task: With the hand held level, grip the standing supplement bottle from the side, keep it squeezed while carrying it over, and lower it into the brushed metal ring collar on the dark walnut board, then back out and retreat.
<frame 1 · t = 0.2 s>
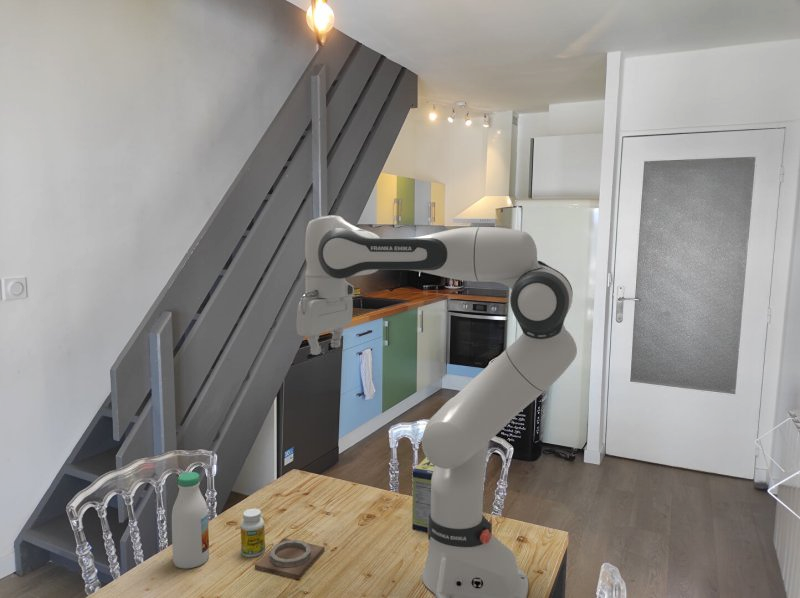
hand: (326, 350, 128), 48 cm above the table, tool pointing down, fingers open, 8 cm apart
milk bottle: (191, 560, 129), on the table
collar board: (290, 559, 130), on the table
protein box: (440, 520, 149), on the table
supplement bottle: (253, 552, 133), on the table
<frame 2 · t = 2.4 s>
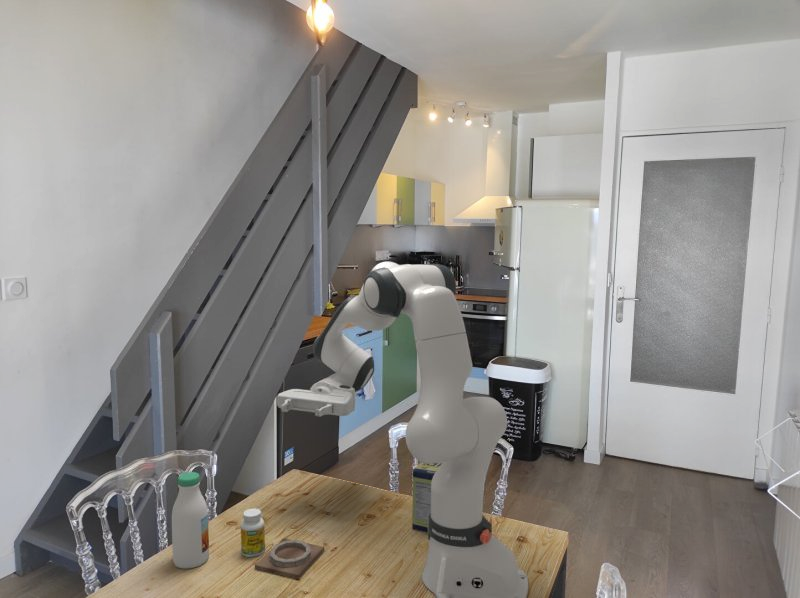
hand: (300, 410, 141), 30 cm above the table, tool horizontal, fingers open, 8 cm apart
nothing on the table moved.
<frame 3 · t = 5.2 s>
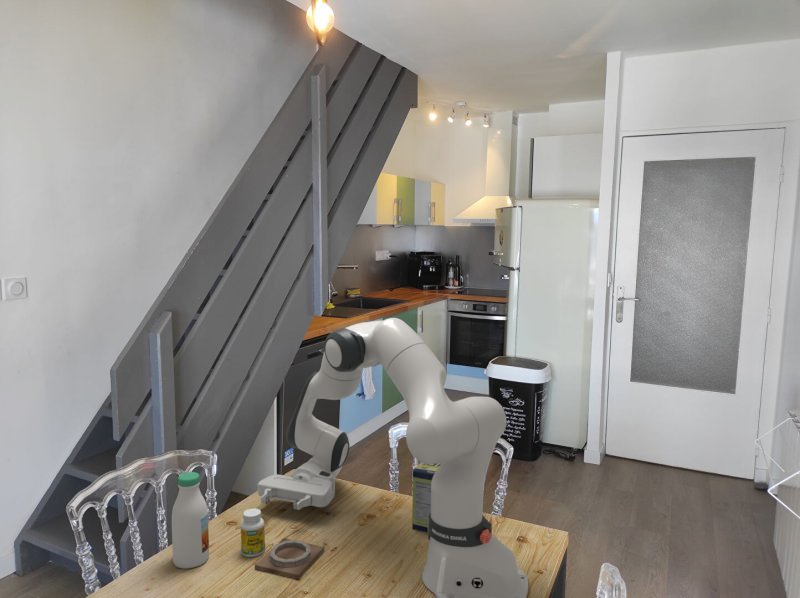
hand: (279, 503, 143), 6 cm above the table, tool horizontal, fingers open, 8 cm apart
nothing on the table moved.
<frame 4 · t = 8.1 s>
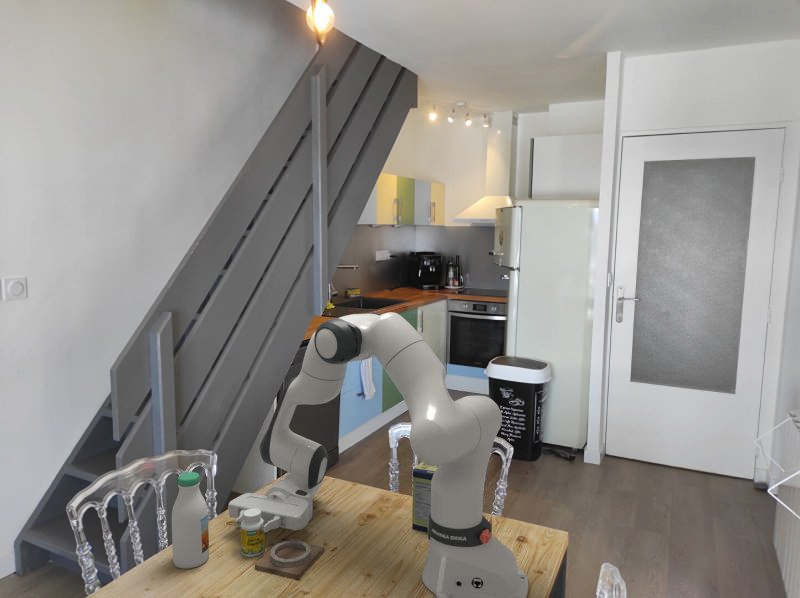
hand: (250, 526, 131), 7 cm above the table, tool horizontal, fingers closed on supplement bottle, 5 cm apart
supplement bottle: (253, 552, 133), on the table, touching gripper
everything else where it was.
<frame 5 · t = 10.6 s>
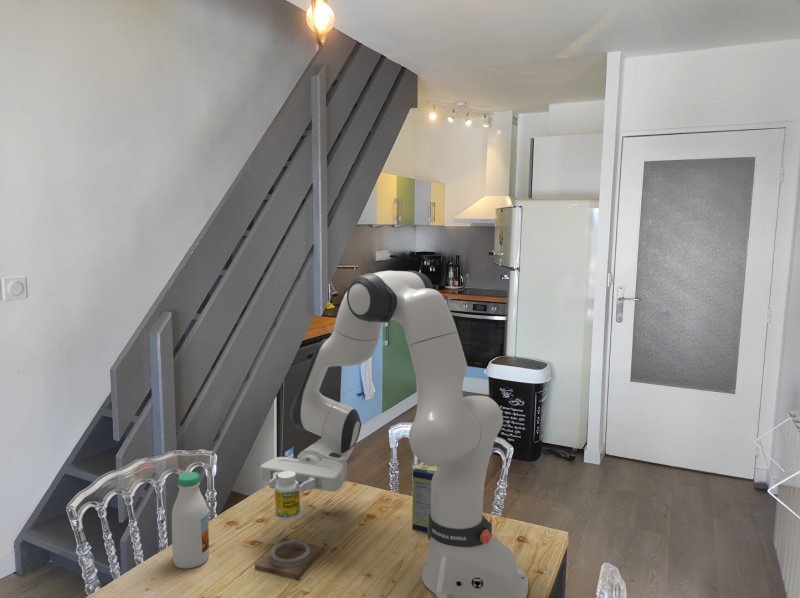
hand: (285, 487, 127), 18 cm above the table, tool horizontal, fingers closed on supplement bottle, 5 cm apart
supplement bottle: (287, 515, 129), point 10 cm above the table, touching gripper
everything else where it was.
when the fingers open (8 cm above the table, at t = 13.6 s): supplement bottle stays where it is, resting on collar board.
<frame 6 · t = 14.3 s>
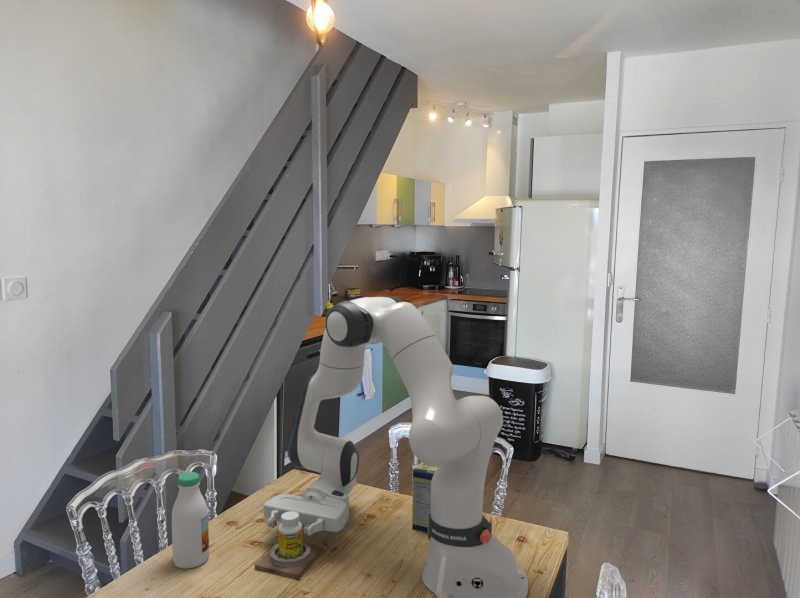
hand: (288, 528, 128), 8 cm above the table, tool horizontal, fingers open, 8 cm apart
supplement bottle: (290, 556, 130), point 1 cm above the table, touching collar board
everything else where it was.
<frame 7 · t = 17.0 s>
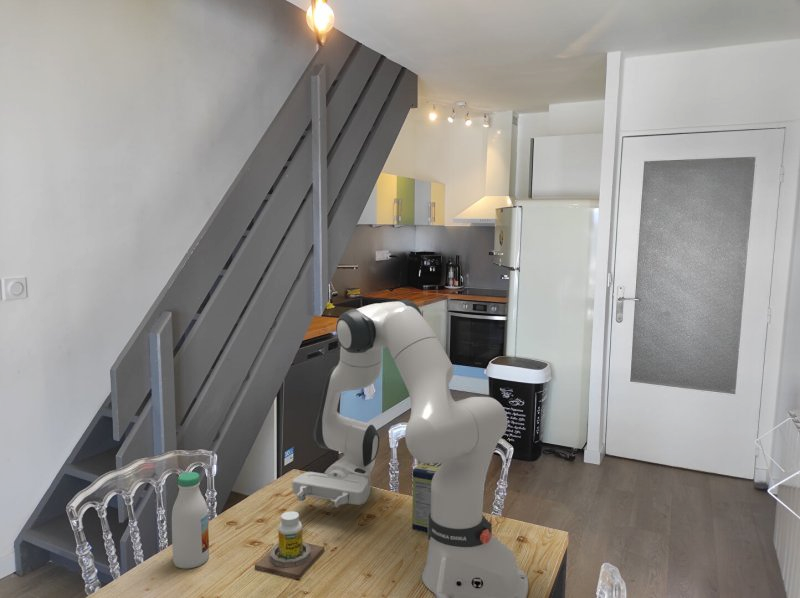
hand: (316, 501, 140), 9 cm above the table, tool horizontal, fingers open, 8 cm apart
nothing on the table moved.
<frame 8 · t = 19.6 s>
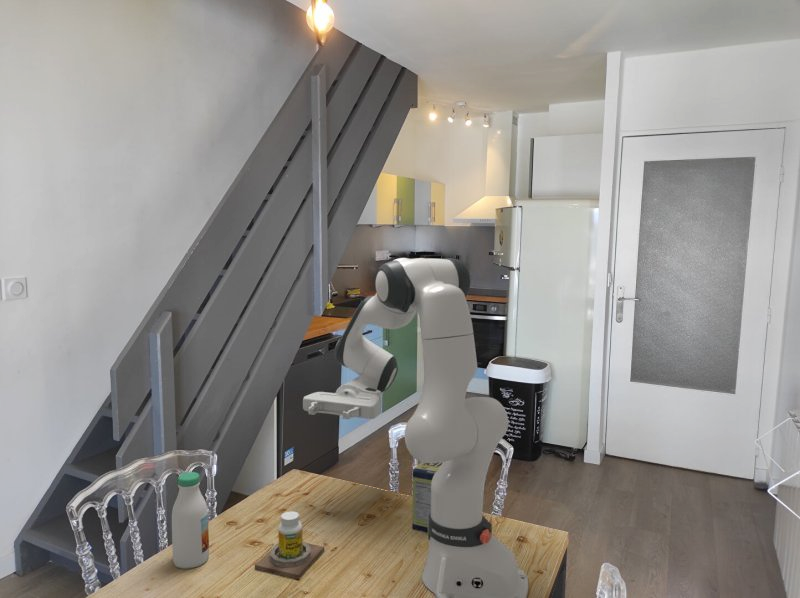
hand: (327, 413, 140), 30 cm above the table, tool horizontal, fingers open, 8 cm apart
nothing on the table moved.
at the end: supplement bottle 0.1 cm off-centre on the collar board, point 0.8 cm above the collar board's base; supplement bottle tilted 0°; the gripper is holding nothing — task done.
